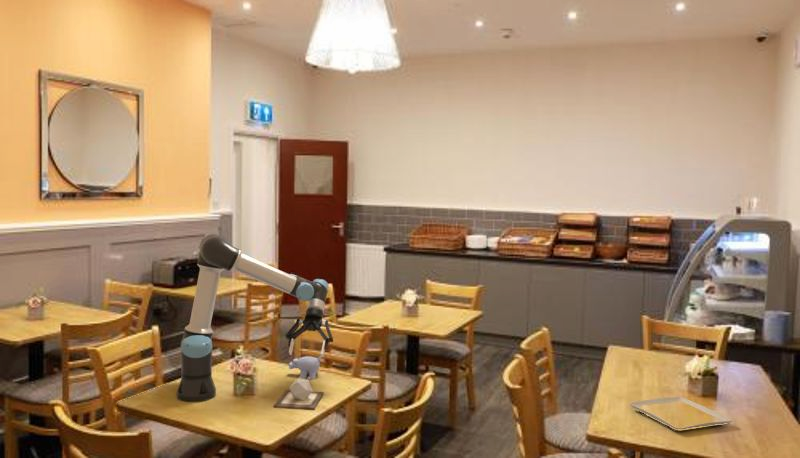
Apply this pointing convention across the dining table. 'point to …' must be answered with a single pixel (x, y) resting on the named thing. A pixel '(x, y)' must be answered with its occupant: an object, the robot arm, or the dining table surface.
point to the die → (301, 389)
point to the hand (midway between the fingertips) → (306, 354)
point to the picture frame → (298, 401)
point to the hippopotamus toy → (306, 366)
